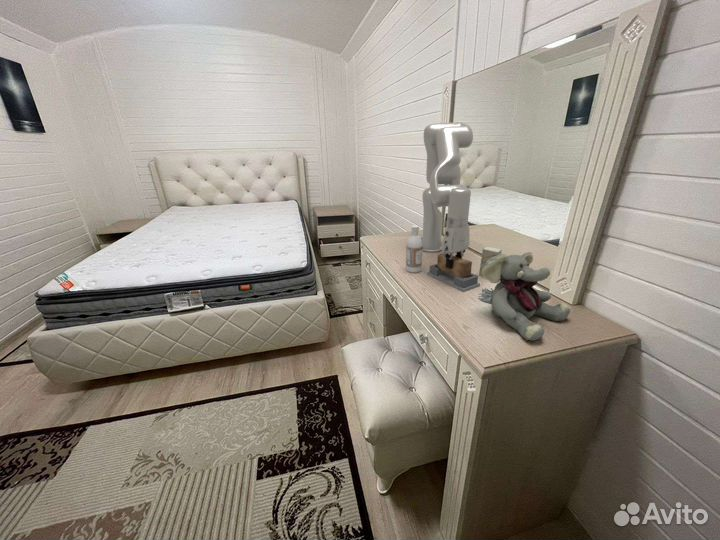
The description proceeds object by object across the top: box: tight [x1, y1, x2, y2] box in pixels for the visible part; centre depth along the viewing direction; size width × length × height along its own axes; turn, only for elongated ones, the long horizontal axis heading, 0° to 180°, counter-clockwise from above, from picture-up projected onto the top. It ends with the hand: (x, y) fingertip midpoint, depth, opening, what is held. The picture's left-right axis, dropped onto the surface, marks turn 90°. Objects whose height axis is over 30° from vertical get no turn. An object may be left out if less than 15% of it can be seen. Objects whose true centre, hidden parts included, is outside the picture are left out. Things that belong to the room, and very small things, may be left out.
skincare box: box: [478, 246, 503, 279], centre depth 119 cm, size 6×4×12 cm
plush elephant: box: [477, 252, 571, 342], centre depth 91 cm, size 27×22×21 cm
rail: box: [426, 263, 481, 293], centre depth 119 cm, size 20×9×4 cm, turn 30°
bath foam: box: [405, 225, 424, 273], centre depth 127 cm, size 7×7×20 cm
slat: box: [436, 253, 473, 279], centre depth 117 cm, size 14×4×6 cm, turn 30°
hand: (453, 266), depth 118 cm, fingers closed on slat, 4 cm apart
